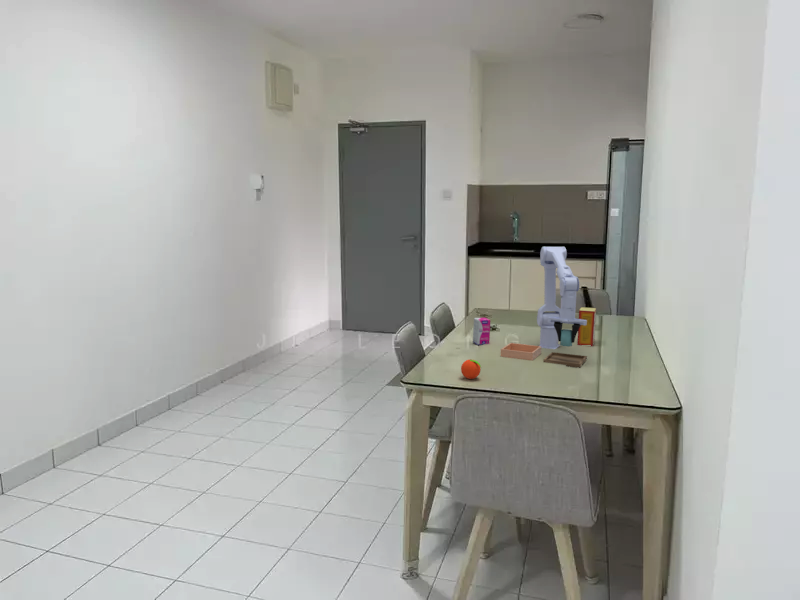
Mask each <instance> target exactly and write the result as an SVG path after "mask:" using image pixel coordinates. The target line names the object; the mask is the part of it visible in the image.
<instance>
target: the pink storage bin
mask: <svg viewBox="0 0 800 600" xmlns="http://www.w3.org/2000/svg"><path fill="white" fill-rule="evenodd" d="M541 354H542V348H541V346H539V345H532V344H524V343H516V342H510V343H508V344H506V345H504V347H502V348H500V357H503V358H508V359H509V358H511V359H517V360H525V361H534V360H535V359H536V358H537V357H539V356H540V355H541Z"/></svg>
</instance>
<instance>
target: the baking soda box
mask: <svg viewBox="0 0 800 600" xmlns="http://www.w3.org/2000/svg"><path fill="white" fill-rule="evenodd" d="M596 316H597V308H596V307H583V306H581V307H580V308H579V309H578V319H583V320H587V325H586V326H585V325H581V326H580V328H579V330H578V332H577V341H576V342H577V344H576V345H577V346H582V345H591V346H590V347H593V346H594V344H595V335H596V334H595V333H596ZM593 343H594V344H593Z"/></svg>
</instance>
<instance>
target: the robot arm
mask: <svg viewBox="0 0 800 600" xmlns="http://www.w3.org/2000/svg"><path fill="white" fill-rule="evenodd" d="M567 251H568V250H567V249H566V247H565V246H542V247H541V249H540V254H539V255H540V257H539V258H540V259H539V260H540V261H539V263H540V265H541V266H542V267H543V269H544V290H543V291H544V295H543V297H544V304H543V305H542V306H540V307H539V308H538V310H537V314H536V315H537V316H536V323H537V326H538V327H540V334H539V345H538V346H541V349H549V350H556V349H559V347H560V346H561V345H560V343H559V342H560V341H561V330H562V329H563V324H568V325H569V324H570V325H572V326H571V330H572V344H574V343H575V340H576V336H577V335H578V330H579V328H580V326H581V325H585V326H586V325H587V320H583V319H579V318H576V309H577V307H576V306H577V292H579V290H580V279H579V277H578V276H576V275H574V273H573V271H572V269H571V266H569V265H567V262H566V259H567V256H568V254H567V253H568V252H567ZM557 278H558V281H559V295H560V307H559V306H558V305H556V303H557V302H556V300H557V296H556V295H557V291H556V290H557V289H556V288H557V283H556V281H557Z"/></svg>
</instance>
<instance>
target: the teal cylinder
mask: <svg viewBox="0 0 800 600" xmlns="http://www.w3.org/2000/svg"><path fill="white" fill-rule="evenodd" d="M559 342H560V343H559V344H560V346H562V347H572V346H573V343H572V329H568V328H562V330H561V341H559Z"/></svg>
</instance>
